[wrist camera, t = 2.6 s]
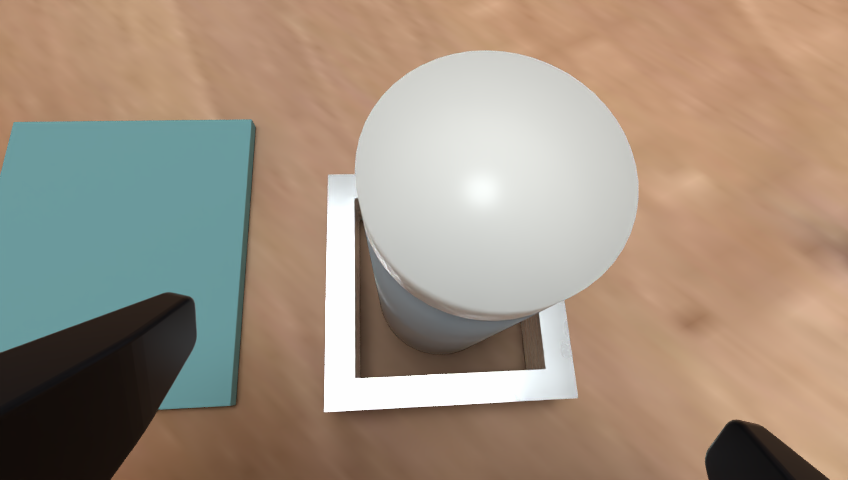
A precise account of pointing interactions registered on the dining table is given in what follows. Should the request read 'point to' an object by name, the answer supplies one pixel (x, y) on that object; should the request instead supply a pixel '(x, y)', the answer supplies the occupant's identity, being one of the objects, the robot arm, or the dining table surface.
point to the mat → (129, 233)
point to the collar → (348, 391)
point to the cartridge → (489, 195)
